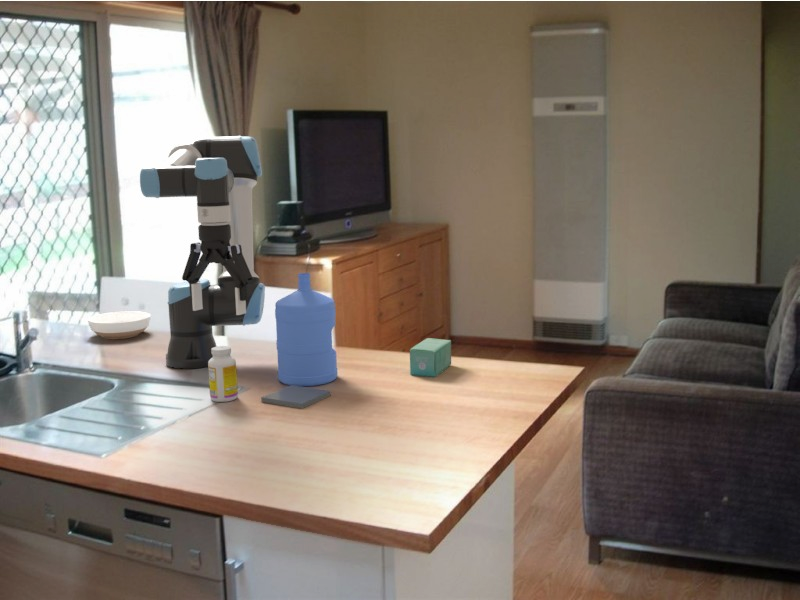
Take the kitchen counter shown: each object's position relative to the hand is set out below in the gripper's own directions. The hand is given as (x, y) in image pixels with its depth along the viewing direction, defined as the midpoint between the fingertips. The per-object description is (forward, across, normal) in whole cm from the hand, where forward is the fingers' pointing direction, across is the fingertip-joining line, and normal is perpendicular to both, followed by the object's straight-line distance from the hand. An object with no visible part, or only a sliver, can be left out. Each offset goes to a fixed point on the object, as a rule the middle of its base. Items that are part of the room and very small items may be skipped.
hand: (219, 312), depth 218 cm
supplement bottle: (+22, 0, 0) cm, 22 cm away
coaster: (+22, +16, +8) cm, 28 cm away
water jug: (+22, +8, +24) cm, 34 cm away
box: (+22, +33, +46) cm, 61 cm away
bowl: (+21, -79, +41) cm, 92 cm away
